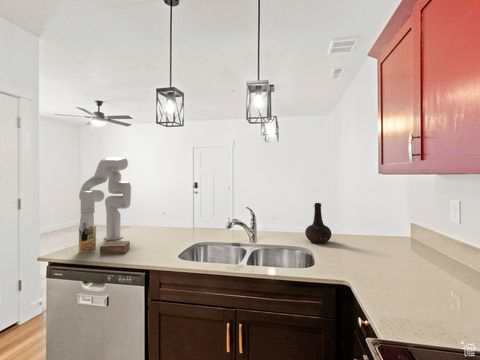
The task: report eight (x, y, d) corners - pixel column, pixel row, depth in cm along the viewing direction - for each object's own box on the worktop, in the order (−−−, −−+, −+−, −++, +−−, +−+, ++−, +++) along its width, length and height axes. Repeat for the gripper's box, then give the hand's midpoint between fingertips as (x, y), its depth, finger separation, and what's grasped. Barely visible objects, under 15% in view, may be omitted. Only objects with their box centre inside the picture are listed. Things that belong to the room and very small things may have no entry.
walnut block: (106, 249, 176) (106, 241, 176) (129, 248, 178) (129, 241, 178) (99, 254, 164) (99, 246, 164) (125, 254, 166) (125, 245, 166)
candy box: (78, 252, 168) (78, 227, 168) (80, 251, 172) (80, 226, 172) (94, 251, 171) (94, 226, 171) (96, 250, 175) (96, 225, 175)
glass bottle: (335, 242, 200) (335, 203, 200) (324, 246, 187) (324, 204, 187) (312, 238, 212) (312, 201, 212) (300, 242, 199) (301, 203, 199)
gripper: (86, 209, 179) (86, 236, 179) (74, 212, 162) (74, 242, 162) (98, 209, 180) (98, 236, 180) (88, 212, 163) (88, 242, 163)
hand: (87, 238), depth 171 cm, fingers open, 9 cm apart
